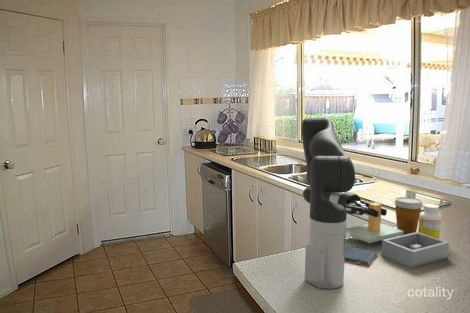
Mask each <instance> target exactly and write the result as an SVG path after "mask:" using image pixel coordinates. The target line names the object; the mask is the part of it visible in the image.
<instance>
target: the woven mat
mask: <svg viewBox="0 0 470 313" xmlns="http://www.w3.org/2000/svg"><path fill="white" fill-rule="evenodd" d="M377 257H378V254H377V251H375V250H369V249H364V247H361V248H359V247H358V246H357V247H354V246H353V245H352V246H349V245H348V244H347V245H345V261H344V263H345V262H346V263H351V264H355V265H359V266H364V267H367V266H368V268H370V266H371V265H372V264H373V261H374V260H375V259H377Z"/></svg>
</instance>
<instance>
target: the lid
mask: <svg viewBox="0 0 470 313" xmlns="http://www.w3.org/2000/svg"><path fill="white" fill-rule="evenodd" d="M370 203H371V202H370ZM382 205H383V204H381V203H379V202H377V203H371V204H369V208H371V209H374V210H378V211H379V215H378V217H374V216H371V215H368V220H367V221H368V222H367V224H361V225H357V226H351V227H346V234H349V236H351V237H353V238H355V239H357V240H360V241H363V242H364V243H366V244H367V243H368V244H372V243H376V242H380V241H381V242H382V240H384V239H389V238H393V237H397V236H402V235H405V234H404V231H402V230H399V229H397V227H394V226H393V227H392V226H391V225H388V224H384V223H382V221H381V220H382V215H381V208H383V207H382Z"/></svg>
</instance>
